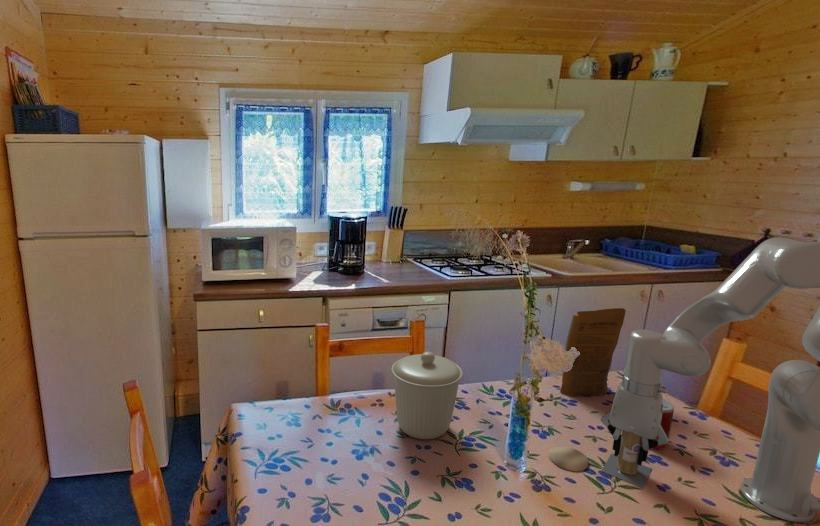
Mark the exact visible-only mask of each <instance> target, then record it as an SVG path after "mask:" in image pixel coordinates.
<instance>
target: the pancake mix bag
mask: <svg viewBox="0 0 820 526" xmlns="http://www.w3.org/2000/svg"><path fill="white" fill-rule="evenodd" d="M572 316H573V317H572V320H571V323H570V326H569V330H568V333H567V337H566V342H565V349H564V351H565V350H566V351H569V350H570V349H571V347H575V348H576V349H577V351H579V352H580V355H579V356H578V357H577V358H576V359H575V361H574V363H573V367H572V369H571V370H570V371H568V372H564V373H563V372H562V377H561V378H562V379H561V382H562V383H561V387H560V390H559V393H561V394H563V395H566V396H569V397H587V396H588V397H590V396H591V397H592V396H604V395H607V393H608V377H609V372H610V370H611V367H612V362H613V354H614V353H615V350H616V348H617V345H618V343H619V338H620V334H621V330H622V327H623V324H624V321H625V318H626V317H625V316H626V308H622V307H619V308H605V309H598V310H585V311H583V310H581V311H577V312H576V314H573V315H572Z"/></svg>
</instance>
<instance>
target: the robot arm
mask: <svg viewBox="0 0 820 526" xmlns="http://www.w3.org/2000/svg"><path fill="white" fill-rule="evenodd" d="M786 287H787V288H790V289H795V290H810V289H820V236H819V237H818V239H817V241H807V242H803V241H801V240H795V239H791V238H787V237H770V238H768V239H766V240H764V241H762V242H761V243H760V244H758V245H757V246H756V247H755V248H754V249H753V250H752V251H751V253H750V254H748V255H747V257H746V258H744V259H743V261H742V262H741V263H740V264H739V265H737V266H736V268H735V269H734V270H733V271H732V273H730V274H729V275H728V276H727V277H726V278H725V280H723V281H722V283H721V284H720V285H719V286H718V287H717V288H716V289H715V290H713V291H712V292H710V293H709V294H707V295H705V296H703V297H702V298H700V299H699V300H697V301H696V302H694V303H692V304H691V305H689V306H688V307H687V308H685V310H683V311H682V312H681V313H680V314H679V315H678V316H677V317H676V318H675V319H674V320H673V321H672V323H670V325H669V326H668V327H667V328H666V329H665V330H664V332H663V334H662V333H660V332H657V331H655V330H650V329H643V328H642V329H640V328H639V329H635V330H632V331H631V332H630V334H629V336H628V343H627V349H626V356H625V362H624V368H623V374H622V375H623V376H622V380H621V382H620V383H618V386H617V389H616V392H615V394H614V397H613V401H612V405H611V410H609V411H607V412H606V413H605V414H603V415H602V416H601V418H600V421H601V423H602V424H603V425H604V426H605V428H607V430H608V432H610V433H609V434H611V435H612V439H613V443H612V450H613V451H614V453H613V454H614V456H616V457H617V456H619V448H620V442H621V435H622V431H623V430H624V431H627V432H629V431H630V432H633V433H634V434H636V435H638V436H641V437H642V445H641V448H640V452H639V458H638V465H640V466H641V465H643V462H647V458H648V455H649V454H648V453H649V451H650V450H651V448H653V447H656V446H657V445H663V444H667V443H669V439H668V437H667V436H666V434H665V432H664V430H663V428H662V426H661V420H662V411H663V399H664V398H663V394H667V392H668V387H667V386H665V385H663V384H662V377H663V376H662V375H663V370H664V371H668V372H670V373H674V374H677V375H680V376H684V377H698V376H702V375H704V374H705V373H707V372H708V371H709V369H710V367H711V363H712V361H711V357H710V354H709V352H708V350H707V349H706V348H705V346H704V345H703V344H702V342H703V341H704V340H705V339H706V338H708V336H709V335H710V334H711V333H713V332H714V331H715V330H717V329H718V328H720V327H721V326H723V325H726V324H728V323H731V322H739V321H741V322H742V321H747V320H751V319H754V318H756V317H757V315H759V314H760V313H761V312H762V311H763V310H764V309H765V308H766V307H767V306H768V305H769V304H770V302H772V301H773V299H775V298H776V297H777V296H778V295H779V294H780V293H781V292H782V291H783V290H784V289H785V288H786ZM813 315H814V316H813V317H812V318H811V320H810V322H809V324H808V325H807V327H806V329H805V331H804V332H803V334H802V336H801V337H802V339H801V343H802V346H803V348H804V349H805V351H806V352H807V353H808V354H809V355H810V356H811V357H813V358H814V359H815V360H817V361H818V362H819V363H820V306H819V307H818V308H817V310H816V312H815V314H813ZM768 382H769V383H768V401H767V402H768V403H767V412H766V415H765V421H764V426H763V429H762V432H761V433H762V434H761V438H760V441H759V447H758V451H757V456H756V460H755V463H754V464H755V465H754V469H753V473H752V477H750V478H745V479H743V481H742V482H741V484H740V485H741V486H740V489H741V492H742V494H743V496H744V498H746V499H747V501H749V503H751V504H752V505H753V506H755V507H757V508H758V509H760V510H762V511H763V512H765V513H767V514H769V515H771V516H774V517H776V518H778V519H782V520H786V521H787V522H794V523H808V522H811V521H813V519H814V518H815V515H816V512H820V497H818V496H816V495H814V493H812V491H811V490H812V489H811V488H812V485H813V480H814V477H815V474H816V469H817V466H818V462H819V457H820V366H818V365H816V364H815V363H812V362H809V361H807V360H801V359H790V360H787V361H784V362H781V363H780V364H778V365H777V366H776V367H775V368H774V369H773V371H772V373H771V374H770V377H769V381H768ZM631 426H632V427H634V429H632V428H630V427H631ZM657 434H658V436H659V438H656V437H657ZM667 445H668V444H667Z"/></svg>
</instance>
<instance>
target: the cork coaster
mask: <svg viewBox="0 0 820 526" xmlns="http://www.w3.org/2000/svg"><path fill="white" fill-rule="evenodd" d="M548 458H549V460H550V461H551V463H553V464H554V465H555V466H557V467H559V468H561V469H563V470H565V471H570V472H582V471H585V470H586V469H587V468H588V467H589V459H588V457H587V456H586V455H585V454H584V453H583V452H581V451H579V450H578V449H576V448H573V447H570V446H563V445H561V446H555V447H552V448H551V449H550V450H549V453H548Z"/></svg>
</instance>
